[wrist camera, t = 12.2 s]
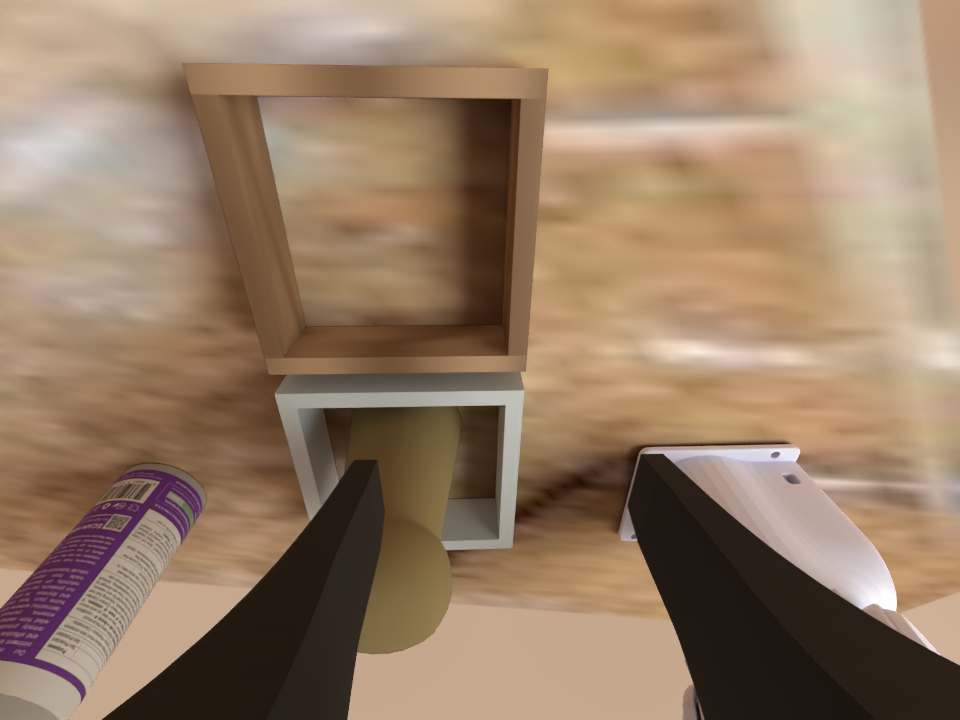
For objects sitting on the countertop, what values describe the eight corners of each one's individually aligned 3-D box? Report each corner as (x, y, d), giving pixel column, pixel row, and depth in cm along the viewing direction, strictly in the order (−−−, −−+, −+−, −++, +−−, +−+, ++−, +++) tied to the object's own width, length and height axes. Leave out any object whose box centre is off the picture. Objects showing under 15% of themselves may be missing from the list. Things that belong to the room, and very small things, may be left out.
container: (113, 502, 26) (-227, 893, 13) (130, 451, 24) (-250, 850, 11) (195, 527, 27) (-40, 904, 15) (216, 481, 26) (-33, 867, 13)
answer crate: (516, 356, 22) (524, 390, 19) (507, 506, 28) (512, 548, 25) (296, 359, 22) (274, 394, 19) (332, 511, 27) (318, 553, 25)
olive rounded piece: (336, 387, 23) (248, 592, 13) (451, 371, 22) (445, 567, 13) (368, 471, 26) (315, 686, 16) (469, 457, 25) (475, 667, 16)
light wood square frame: (534, 74, 16) (548, 68, 13) (517, 339, 22) (525, 371, 19) (227, 69, 16) (181, 62, 13) (292, 341, 21) (268, 374, 19)
